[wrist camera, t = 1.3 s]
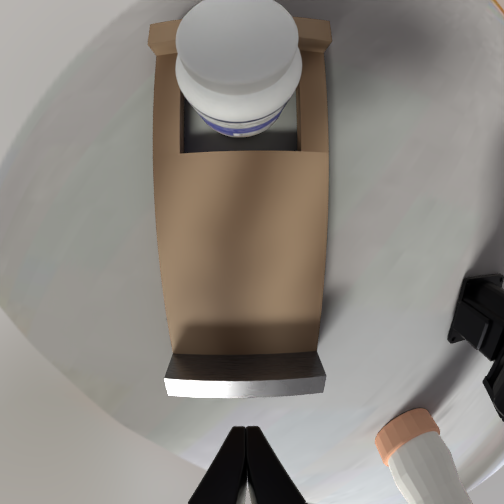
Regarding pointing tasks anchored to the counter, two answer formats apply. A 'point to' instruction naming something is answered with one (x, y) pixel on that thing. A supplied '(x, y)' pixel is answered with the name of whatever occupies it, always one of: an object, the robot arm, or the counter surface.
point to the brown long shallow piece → (242, 241)
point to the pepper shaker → (420, 460)
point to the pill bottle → (238, 63)
